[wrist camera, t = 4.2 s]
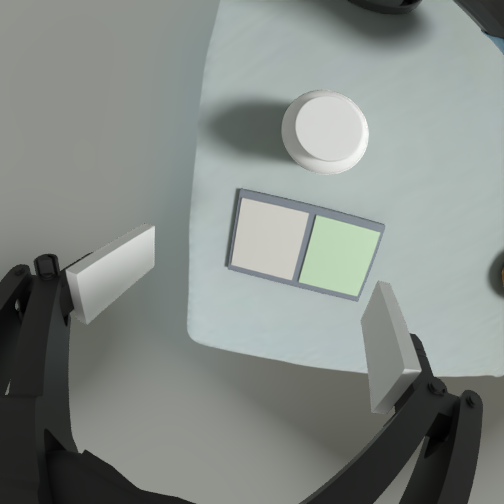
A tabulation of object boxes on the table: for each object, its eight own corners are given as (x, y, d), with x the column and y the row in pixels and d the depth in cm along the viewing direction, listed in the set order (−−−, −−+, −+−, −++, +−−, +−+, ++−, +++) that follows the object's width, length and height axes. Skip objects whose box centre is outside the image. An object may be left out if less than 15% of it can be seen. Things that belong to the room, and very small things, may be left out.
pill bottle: (359, 119, 29) (390, 101, 16) (341, 176, 33) (360, 196, 19) (300, 99, 30) (290, 66, 17) (283, 156, 34) (261, 162, 20)
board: (241, 188, 36) (239, 189, 35) (384, 224, 34) (385, 226, 33) (229, 266, 41) (227, 269, 40) (357, 298, 38) (357, 302, 37)
